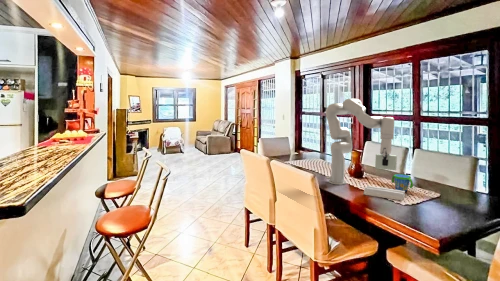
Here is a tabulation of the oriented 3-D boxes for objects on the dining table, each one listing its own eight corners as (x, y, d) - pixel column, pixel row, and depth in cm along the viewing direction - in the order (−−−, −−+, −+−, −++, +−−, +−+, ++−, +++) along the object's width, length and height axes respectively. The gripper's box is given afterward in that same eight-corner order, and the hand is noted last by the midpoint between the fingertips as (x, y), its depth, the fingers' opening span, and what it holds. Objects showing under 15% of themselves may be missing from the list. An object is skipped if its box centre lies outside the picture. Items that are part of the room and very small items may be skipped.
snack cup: (416, 192, 201) (417, 177, 200) (404, 193, 198) (405, 178, 197) (399, 186, 216) (399, 172, 215) (387, 187, 213) (387, 173, 212)
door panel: (375, 168, 195) (375, 154, 194) (376, 167, 197) (376, 153, 196) (395, 170, 188) (396, 156, 187) (396, 169, 190) (396, 155, 189)
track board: (363, 194, 197) (363, 188, 197) (367, 190, 205) (367, 185, 205) (402, 200, 184) (402, 194, 183) (404, 196, 192) (405, 190, 191)
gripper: (383, 135, 199) (382, 162, 201) (377, 137, 186) (376, 166, 188) (395, 135, 195) (394, 163, 197) (390, 137, 181) (389, 167, 183)
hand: (385, 164), depth 192 cm, fingers closed on door panel, 3 cm apart
